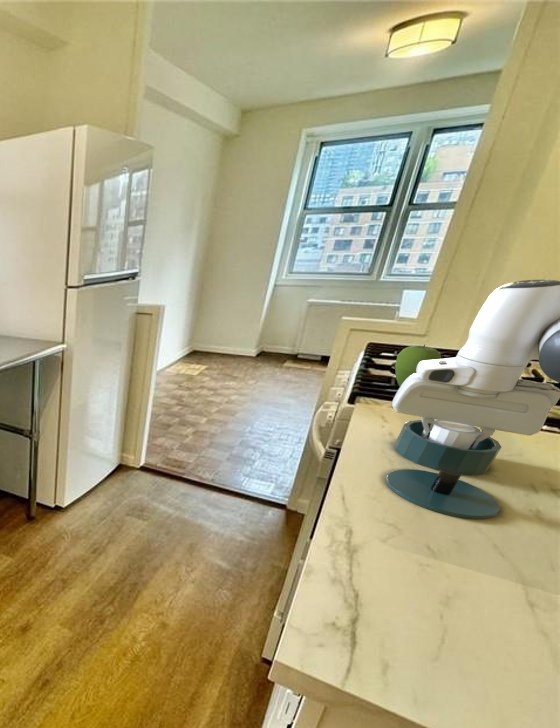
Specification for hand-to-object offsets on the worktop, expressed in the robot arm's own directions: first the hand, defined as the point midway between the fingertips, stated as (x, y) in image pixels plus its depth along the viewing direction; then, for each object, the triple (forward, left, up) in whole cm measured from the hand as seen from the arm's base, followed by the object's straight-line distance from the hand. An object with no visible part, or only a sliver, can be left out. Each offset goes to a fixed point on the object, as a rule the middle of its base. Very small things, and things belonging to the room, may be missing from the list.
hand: (446, 442), depth 93 cm
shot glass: (0, 0, -4) cm, 4 cm away
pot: (0, 0, -4) cm, 4 cm away
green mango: (+1, -47, -4) cm, 47 cm away
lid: (+2, +17, -3) cm, 17 cm away
